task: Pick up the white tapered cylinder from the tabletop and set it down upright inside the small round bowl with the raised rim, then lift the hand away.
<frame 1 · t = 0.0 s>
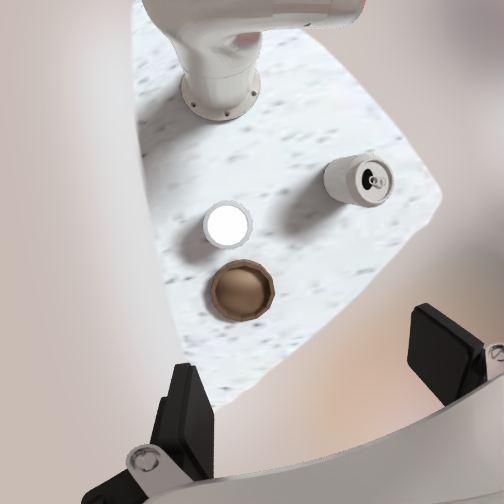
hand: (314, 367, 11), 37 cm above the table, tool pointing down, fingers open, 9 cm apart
round bowl: (242, 288, 49), on the table
white tapered cylinder: (227, 218, 46), on the table
can: (341, 180, 46), on the table
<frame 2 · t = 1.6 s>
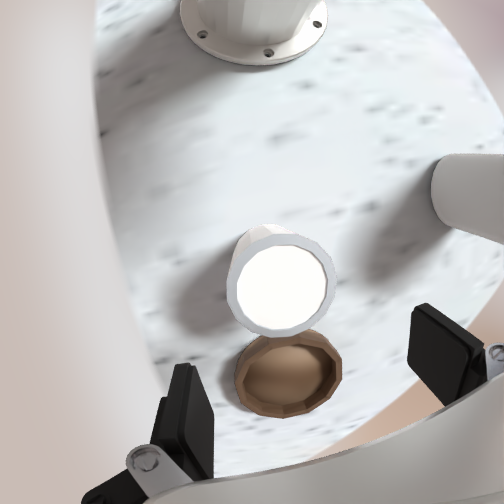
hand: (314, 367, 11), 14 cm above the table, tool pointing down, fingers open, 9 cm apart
round bowl: (287, 370, 27), on the table
white tapered cylinder: (267, 256, 24), on the table
can: (449, 189, 24), on the table
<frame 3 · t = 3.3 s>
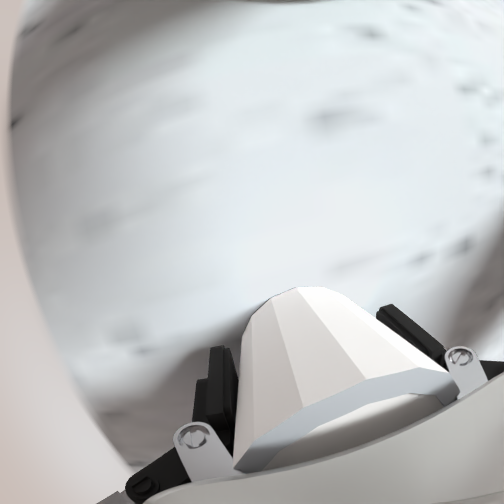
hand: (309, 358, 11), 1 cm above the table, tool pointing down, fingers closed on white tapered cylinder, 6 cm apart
white tapered cylinder: (302, 341, 13), on the table, touching gripper
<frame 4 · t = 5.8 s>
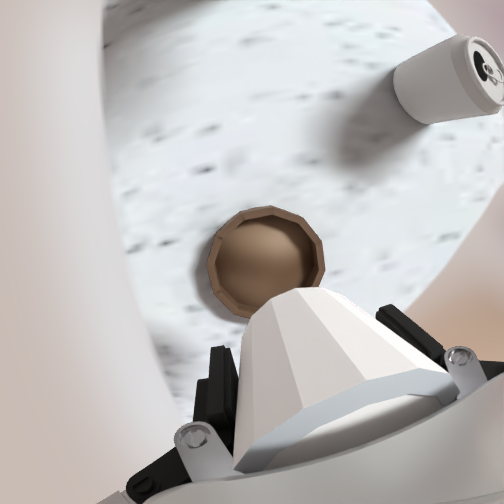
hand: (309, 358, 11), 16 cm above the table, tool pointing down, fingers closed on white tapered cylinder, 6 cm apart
round bowl: (264, 261, 27), on the table
white tapered cylinder: (302, 342, 13), point 15 cm above the table, touching gripper
can: (415, 93, 24), on the table
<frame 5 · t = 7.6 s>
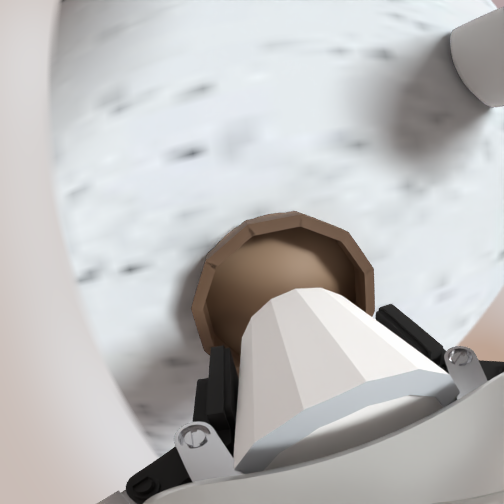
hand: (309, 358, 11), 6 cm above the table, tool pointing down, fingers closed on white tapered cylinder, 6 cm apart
round bowl: (283, 297, 17), on the table
white tapered cylinder: (302, 342, 13), point 5 cm above the table, touching gripper
can: (472, 68, 14), on the table
when the fingers open (3 cm above the table, at t = 8.8 s): white tapered cylinder drops 1 cm, resting on round bowl.
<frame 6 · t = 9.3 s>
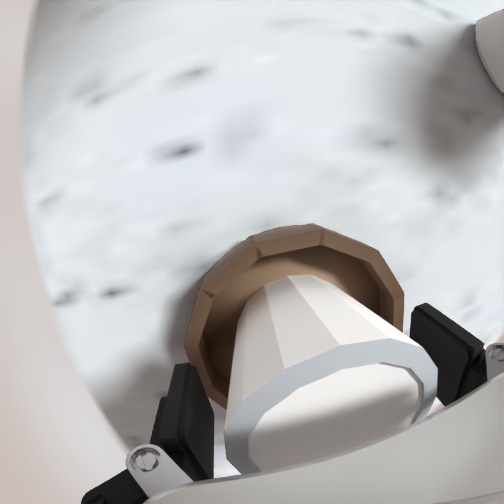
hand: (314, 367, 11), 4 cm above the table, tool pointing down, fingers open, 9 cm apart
round bowl: (295, 326, 14), on the table
white tapered cylinder: (294, 327, 14), resting on round bowl
can: (496, 63, 11), on the table
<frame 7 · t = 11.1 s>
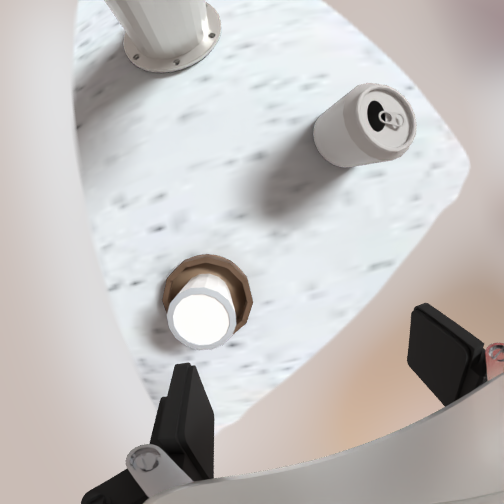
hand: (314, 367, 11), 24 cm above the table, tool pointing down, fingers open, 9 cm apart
round bowl: (208, 295, 34), on the table
white tapered cylinder: (206, 295, 34), resting on round bowl
can: (339, 138, 32), on the table
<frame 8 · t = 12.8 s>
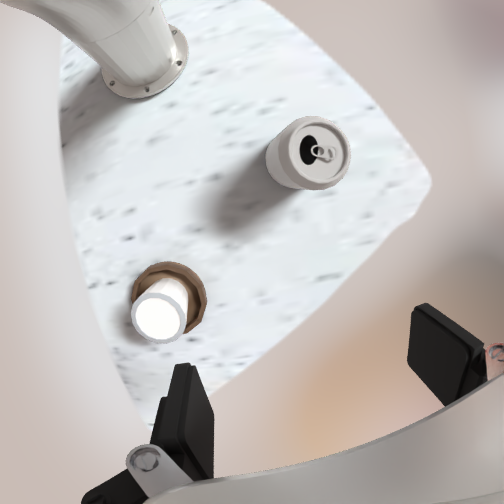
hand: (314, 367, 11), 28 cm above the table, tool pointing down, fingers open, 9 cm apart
round bowl: (170, 296, 39), on the table
white tapered cylinder: (168, 296, 39), resting on round bowl
can: (292, 160, 36), on the table
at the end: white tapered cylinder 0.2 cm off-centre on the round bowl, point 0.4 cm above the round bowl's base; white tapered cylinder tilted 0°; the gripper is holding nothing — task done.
